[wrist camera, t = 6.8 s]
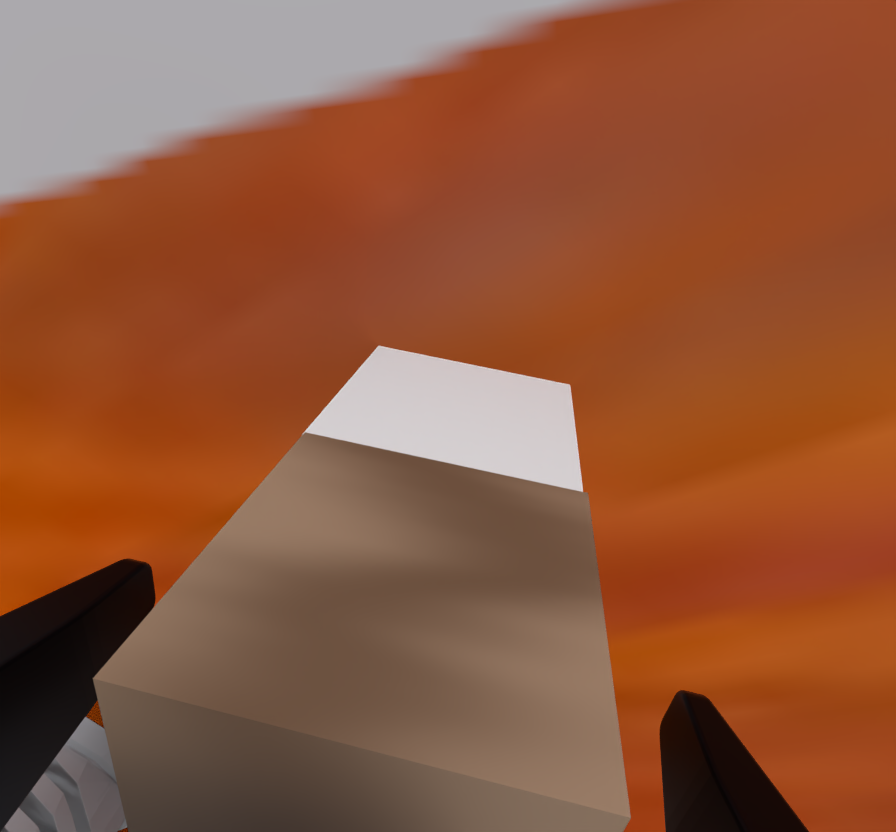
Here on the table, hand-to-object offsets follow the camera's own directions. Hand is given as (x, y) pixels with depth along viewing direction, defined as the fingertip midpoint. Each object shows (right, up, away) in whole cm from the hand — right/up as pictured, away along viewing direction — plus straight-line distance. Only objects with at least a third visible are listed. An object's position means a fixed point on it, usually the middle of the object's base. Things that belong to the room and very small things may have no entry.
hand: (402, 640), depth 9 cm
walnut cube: (0, +1, +1) cm, 2 cm away
